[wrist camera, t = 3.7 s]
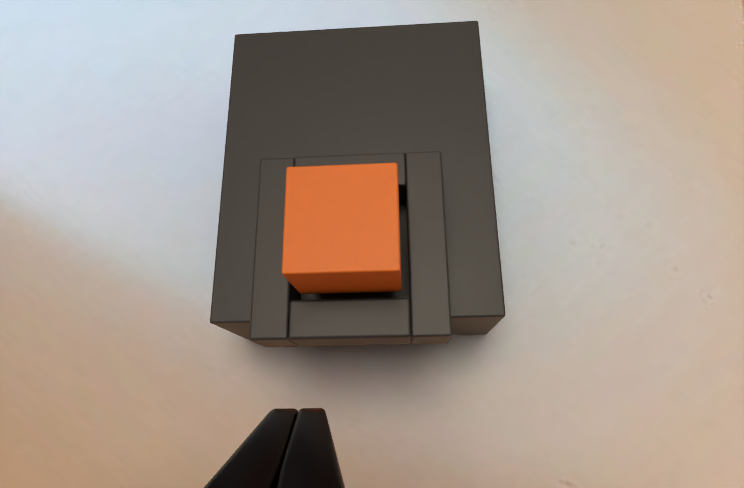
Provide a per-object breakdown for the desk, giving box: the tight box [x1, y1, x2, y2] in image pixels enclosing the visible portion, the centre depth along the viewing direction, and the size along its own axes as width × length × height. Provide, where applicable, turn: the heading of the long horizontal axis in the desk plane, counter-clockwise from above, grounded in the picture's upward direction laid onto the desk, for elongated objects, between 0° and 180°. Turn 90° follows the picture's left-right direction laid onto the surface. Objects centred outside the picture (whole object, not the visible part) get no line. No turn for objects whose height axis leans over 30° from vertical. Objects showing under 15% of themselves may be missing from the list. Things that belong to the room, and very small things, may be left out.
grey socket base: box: [210, 21, 505, 347], centre depth 20 cm, size 13×10×6 cm
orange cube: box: [282, 163, 402, 294], centre depth 15 cm, size 3×3×3 cm
